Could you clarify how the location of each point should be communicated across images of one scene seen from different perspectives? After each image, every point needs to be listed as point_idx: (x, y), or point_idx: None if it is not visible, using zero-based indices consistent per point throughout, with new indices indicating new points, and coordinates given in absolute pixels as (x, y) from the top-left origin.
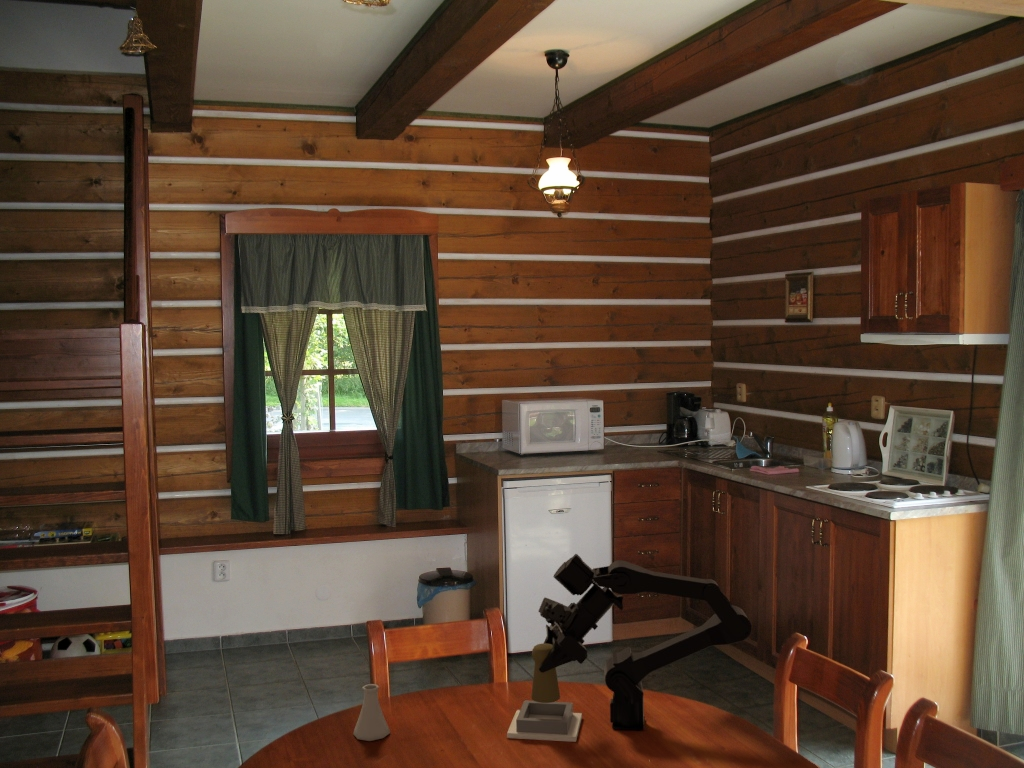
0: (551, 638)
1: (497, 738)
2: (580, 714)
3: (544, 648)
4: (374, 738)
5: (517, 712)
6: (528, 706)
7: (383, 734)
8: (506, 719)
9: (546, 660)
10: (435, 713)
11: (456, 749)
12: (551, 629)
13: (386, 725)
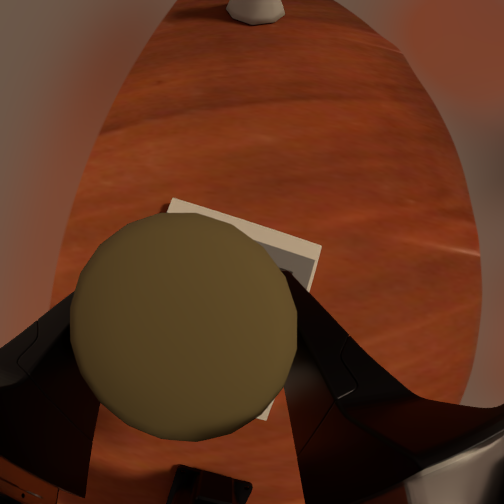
0: (340, 445)
1: (179, 180)
2: (258, 416)
3: (85, 315)
4: (228, 10)
5: (303, 244)
6: (279, 268)
7: (237, 15)
8: (291, 216)
9: (55, 308)
10: (338, 86)
11: (152, 102)
12: (414, 487)
13: (251, 12)
